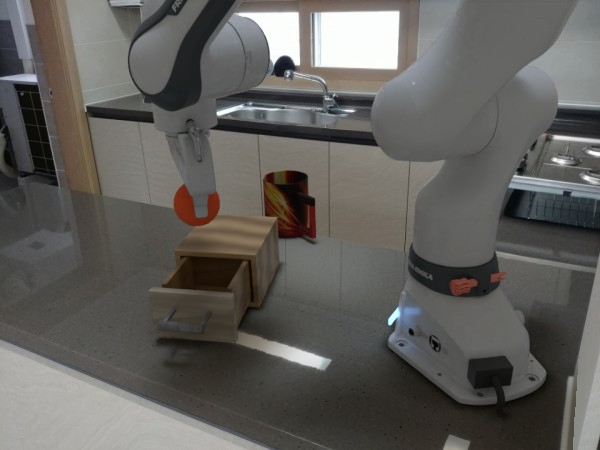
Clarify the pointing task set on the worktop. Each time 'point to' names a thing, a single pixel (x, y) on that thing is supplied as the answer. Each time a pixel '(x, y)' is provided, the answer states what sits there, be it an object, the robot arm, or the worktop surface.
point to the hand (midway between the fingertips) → (196, 205)
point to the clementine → (186, 210)
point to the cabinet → (238, 246)
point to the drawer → (203, 299)
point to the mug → (290, 203)
